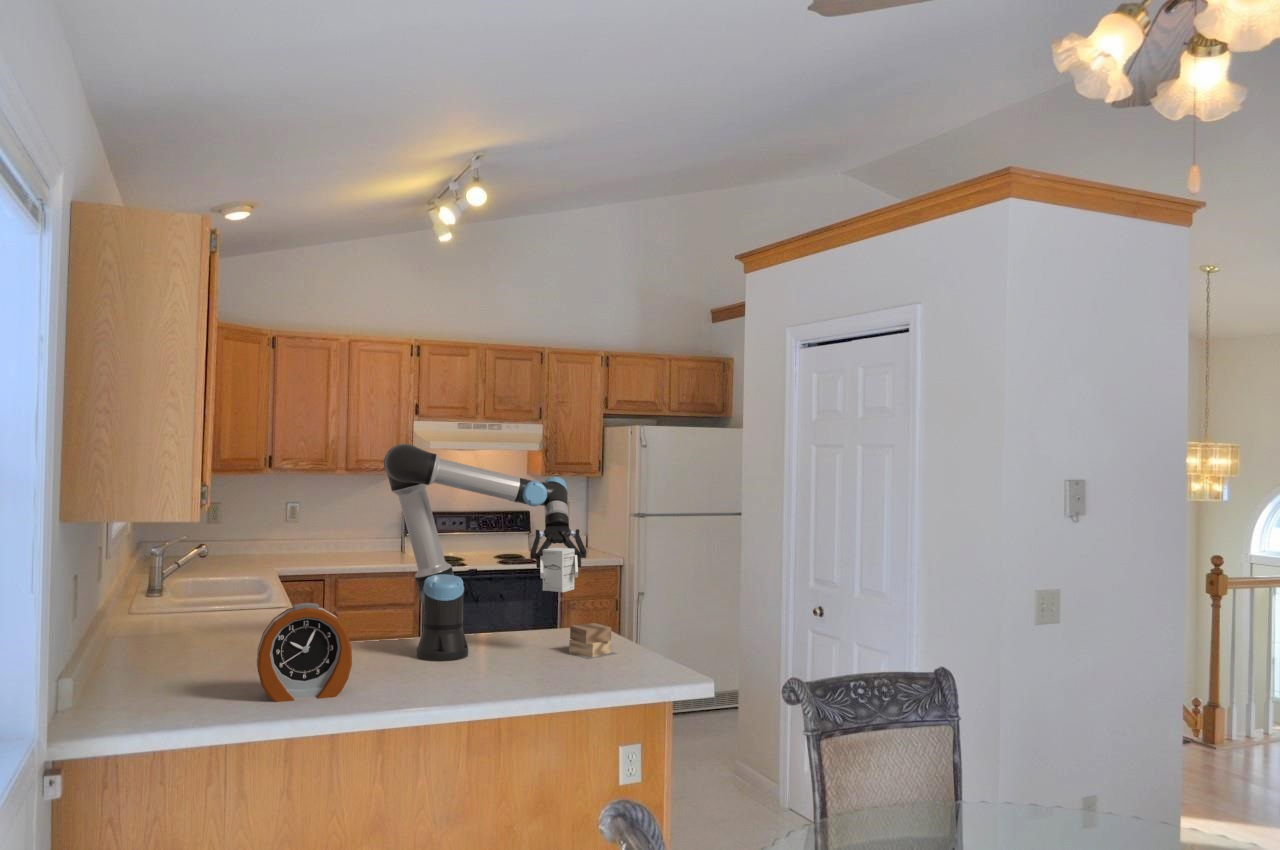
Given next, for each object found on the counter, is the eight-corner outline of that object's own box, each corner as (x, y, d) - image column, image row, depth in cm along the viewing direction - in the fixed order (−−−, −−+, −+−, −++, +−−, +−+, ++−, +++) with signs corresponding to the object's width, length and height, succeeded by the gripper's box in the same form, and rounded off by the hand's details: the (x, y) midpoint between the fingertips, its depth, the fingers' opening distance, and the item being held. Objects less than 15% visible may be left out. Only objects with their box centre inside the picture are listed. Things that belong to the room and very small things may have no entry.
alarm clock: (257, 703, 232) (259, 609, 233) (255, 694, 241) (258, 603, 242) (352, 695, 241) (354, 604, 242) (347, 686, 250) (349, 598, 251)
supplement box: (541, 591, 292) (541, 549, 292) (554, 587, 299) (554, 546, 299) (562, 592, 289) (562, 550, 289) (575, 589, 295) (575, 548, 295)
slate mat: (588, 660, 285) (588, 658, 285) (562, 653, 294) (562, 652, 294) (618, 654, 294) (618, 653, 294) (592, 648, 302) (592, 647, 302)
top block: (586, 643, 288) (586, 630, 288) (570, 638, 295) (570, 625, 295) (611, 640, 293) (611, 627, 293) (594, 635, 300) (594, 622, 300)
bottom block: (592, 657, 288) (592, 643, 288) (569, 653, 293) (569, 640, 293) (611, 652, 295) (611, 639, 295) (588, 648, 300) (588, 635, 300)
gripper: (591, 525, 311) (595, 581, 295) (521, 526, 308) (521, 583, 292) (592, 510, 305) (597, 566, 290) (521, 511, 303) (521, 568, 287)
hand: (559, 575), depth 291 cm, fingers closed on supplement box, 10 cm apart
